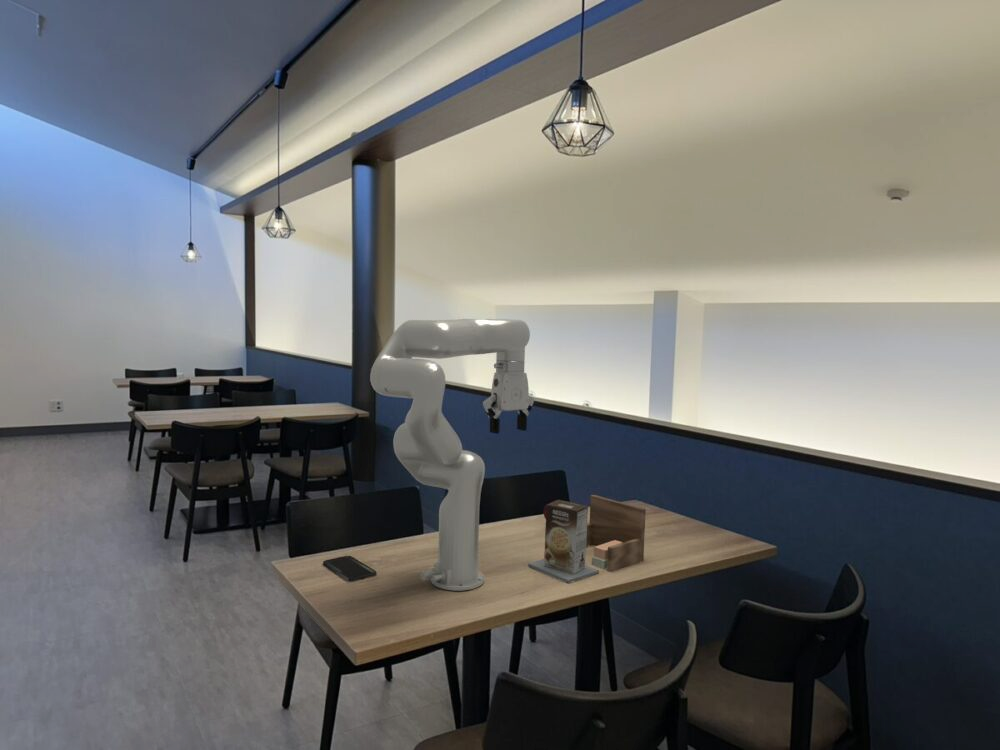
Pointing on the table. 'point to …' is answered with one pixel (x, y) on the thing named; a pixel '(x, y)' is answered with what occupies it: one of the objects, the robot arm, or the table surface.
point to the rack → (617, 530)
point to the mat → (561, 574)
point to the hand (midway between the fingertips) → (508, 431)
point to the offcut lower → (599, 562)
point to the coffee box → (565, 536)
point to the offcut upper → (604, 549)
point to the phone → (349, 568)
